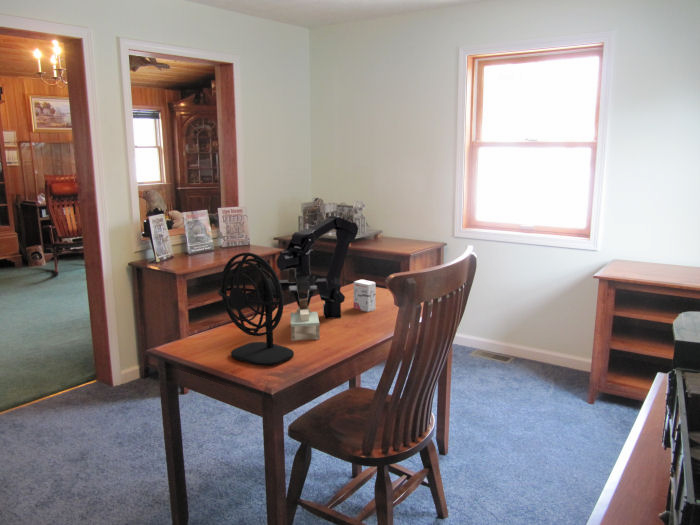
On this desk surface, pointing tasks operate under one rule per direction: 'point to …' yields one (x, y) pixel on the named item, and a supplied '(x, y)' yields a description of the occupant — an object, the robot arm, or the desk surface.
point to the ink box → (364, 295)
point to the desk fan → (266, 292)
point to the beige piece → (305, 331)
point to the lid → (304, 318)
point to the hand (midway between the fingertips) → (303, 306)
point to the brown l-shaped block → (303, 304)
